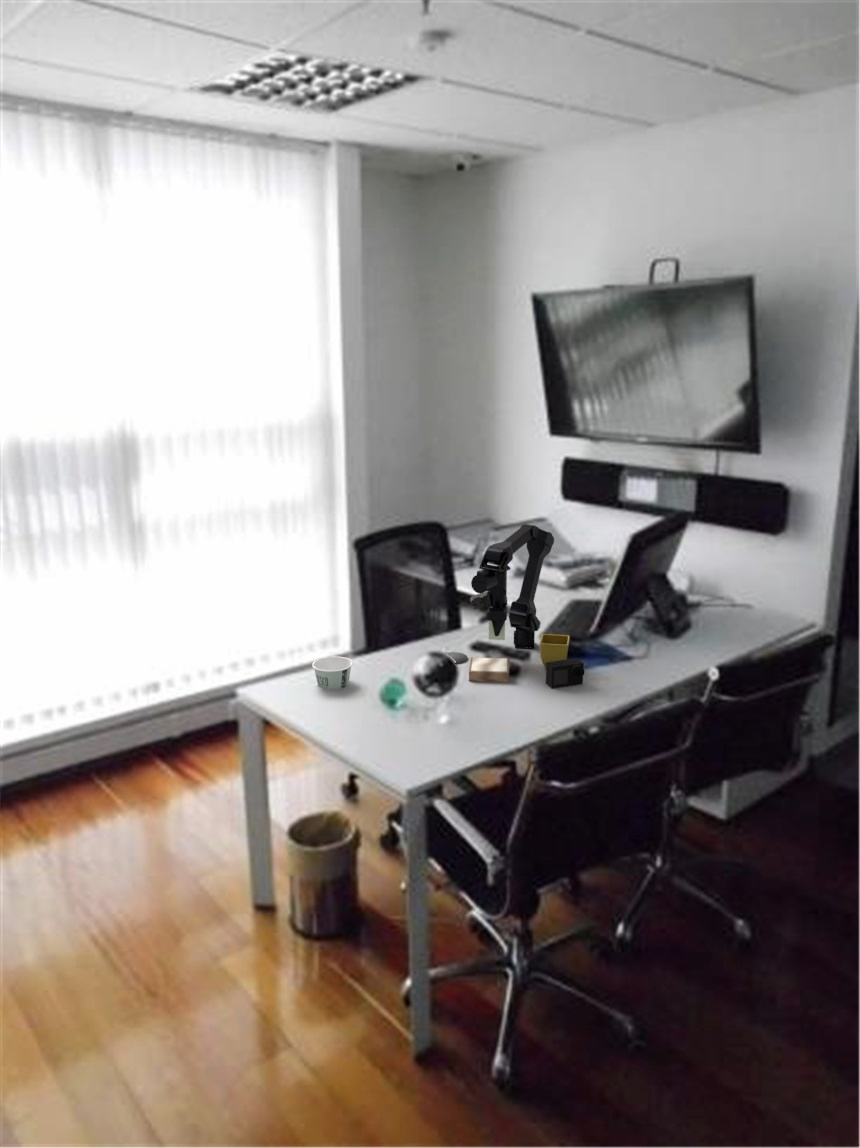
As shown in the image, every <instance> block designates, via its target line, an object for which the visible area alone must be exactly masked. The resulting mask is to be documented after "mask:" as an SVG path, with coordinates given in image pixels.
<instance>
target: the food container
mask: <svg viewBox="0 0 860 1148" xmlns="http://www.w3.org/2000/svg"><path fill="white" fill-rule="evenodd" d="M352 666H353V660H352V659H350V658H348V657H345V656H344V657H343V656H339V655H338V656H335V655H333V656H325V657H322V658H318V659H316V660H314V661H313V662H312V664H311V667H312V668H313V669H314V673H315V677H316V681H317V686H318V687H319V688H320V689H322V690H341V689H343V688H346V687H347V686H348V685H349V683H350V675H351V669H352Z"/></svg>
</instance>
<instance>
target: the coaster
mask: <svg viewBox="0 0 860 1148" xmlns="http://www.w3.org/2000/svg"><path fill="white" fill-rule="evenodd" d="M444 653H445V654H448V655H449V656H451V657H452V658H453V659H454V660H455V661H456V663H457V664H456V665H458V664H463V663H465V662H467V661H468V656H467V654H465V653H462V652H457V651H450V652H444Z"/></svg>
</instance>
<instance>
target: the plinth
mask: <svg viewBox="0 0 860 1148" xmlns="http://www.w3.org/2000/svg"><path fill="white" fill-rule="evenodd" d="M468 681H469V682H492V683H509V682H510V658H508V657H472V656H471V657H470V661H469V669H468Z"/></svg>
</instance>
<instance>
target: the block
mask: <svg viewBox="0 0 860 1148" xmlns="http://www.w3.org/2000/svg"><path fill="white" fill-rule="evenodd" d="M505 637H506V621H505V622H504V625H503V627H502V629H501V631H500V634H499V636H495V634H494V629H493V624H492V621H490V620H488V640H494V641H495V640H500V641H502V640H503V641H504V640H505Z"/></svg>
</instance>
